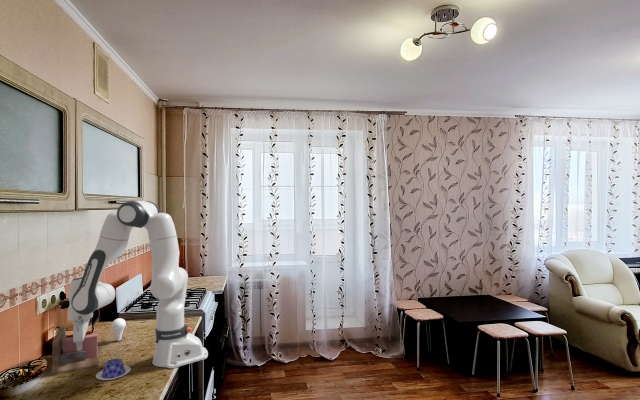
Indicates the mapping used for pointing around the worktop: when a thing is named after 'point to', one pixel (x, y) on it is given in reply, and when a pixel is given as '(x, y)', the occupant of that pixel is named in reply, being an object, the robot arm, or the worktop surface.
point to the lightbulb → (118, 328)
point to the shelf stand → (70, 357)
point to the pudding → (113, 369)
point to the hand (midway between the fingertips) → (80, 346)
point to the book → (87, 344)
